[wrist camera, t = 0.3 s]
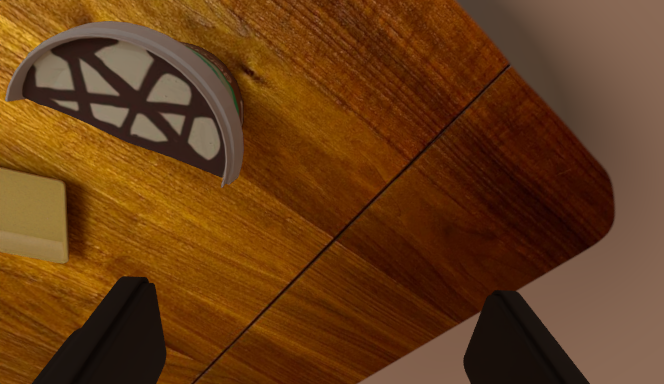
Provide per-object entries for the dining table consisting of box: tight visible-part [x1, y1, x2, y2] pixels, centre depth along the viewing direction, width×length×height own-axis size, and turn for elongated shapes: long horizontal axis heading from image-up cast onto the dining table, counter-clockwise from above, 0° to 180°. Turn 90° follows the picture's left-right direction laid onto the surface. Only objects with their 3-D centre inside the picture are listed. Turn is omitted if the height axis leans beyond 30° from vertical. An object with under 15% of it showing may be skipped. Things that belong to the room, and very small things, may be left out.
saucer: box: [0, 167, 69, 263], centre depth 29 cm, size 9×9×2 cm
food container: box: [5, 21, 244, 187], centre depth 22 cm, size 12×6×10 cm, turn 63°
